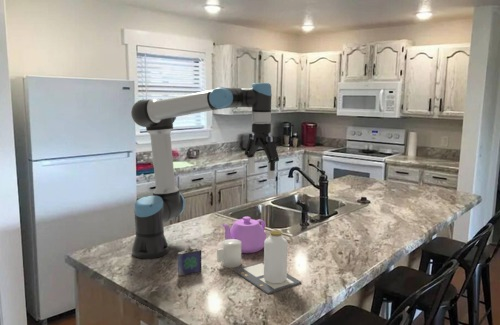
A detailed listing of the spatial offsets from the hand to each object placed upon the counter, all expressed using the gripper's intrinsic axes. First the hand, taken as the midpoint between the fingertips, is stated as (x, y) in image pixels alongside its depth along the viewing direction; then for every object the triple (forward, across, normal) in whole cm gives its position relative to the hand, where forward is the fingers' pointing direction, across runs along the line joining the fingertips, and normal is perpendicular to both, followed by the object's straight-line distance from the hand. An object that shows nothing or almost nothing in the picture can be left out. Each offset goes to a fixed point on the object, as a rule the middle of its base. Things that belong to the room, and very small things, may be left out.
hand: (260, 175), depth 166 cm
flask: (+35, +2, +31) cm, 47 cm away
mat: (+35, -16, +8) cm, 39 cm away
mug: (+35, +1, +14) cm, 38 cm away
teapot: (+35, +13, -1) cm, 37 cm away
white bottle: (+34, -21, +8) cm, 41 cm away
